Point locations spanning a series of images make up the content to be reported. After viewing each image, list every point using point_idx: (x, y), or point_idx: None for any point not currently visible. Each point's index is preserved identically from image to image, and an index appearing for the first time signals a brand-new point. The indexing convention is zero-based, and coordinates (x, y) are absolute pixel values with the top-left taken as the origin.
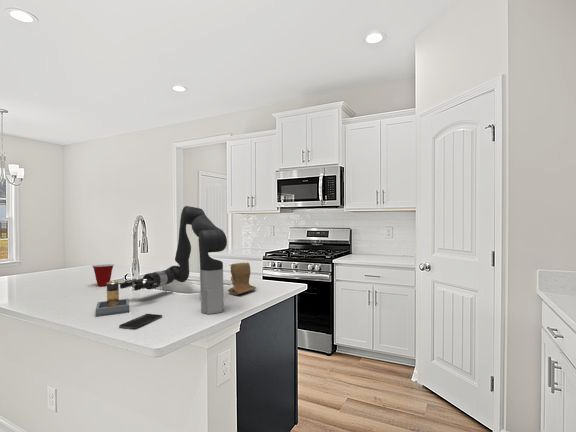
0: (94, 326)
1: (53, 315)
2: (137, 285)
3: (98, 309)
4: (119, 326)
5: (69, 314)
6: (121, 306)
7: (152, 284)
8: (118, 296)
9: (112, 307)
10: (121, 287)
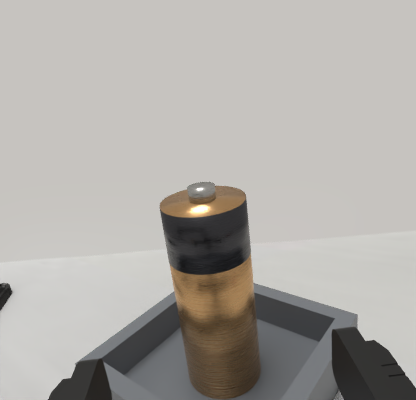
0: (112, 266)
1: (393, 247)
2: (71, 388)
3: None
4: (6, 284)
5: (357, 271)
6: (114, 337)
7: None
8: (181, 314)
9: (151, 308)
10: (334, 365)
